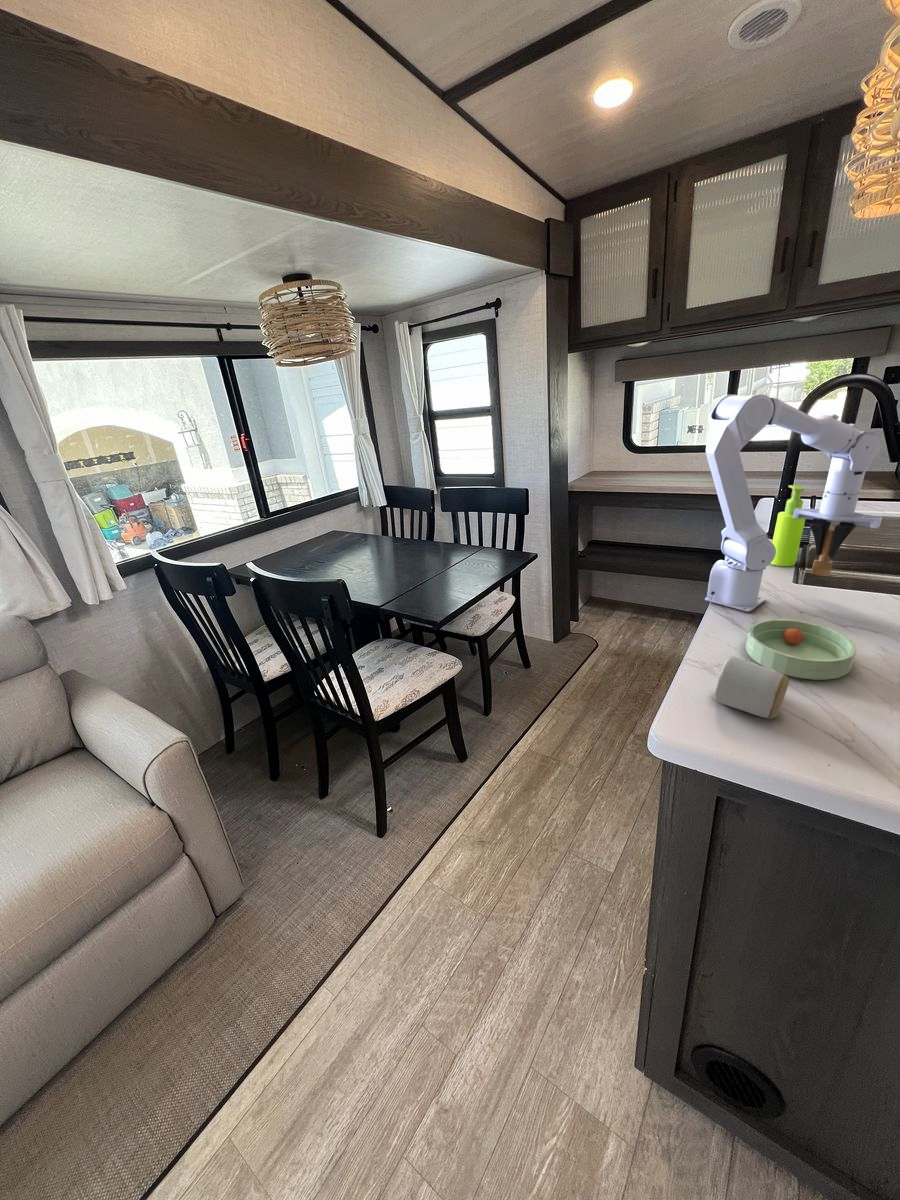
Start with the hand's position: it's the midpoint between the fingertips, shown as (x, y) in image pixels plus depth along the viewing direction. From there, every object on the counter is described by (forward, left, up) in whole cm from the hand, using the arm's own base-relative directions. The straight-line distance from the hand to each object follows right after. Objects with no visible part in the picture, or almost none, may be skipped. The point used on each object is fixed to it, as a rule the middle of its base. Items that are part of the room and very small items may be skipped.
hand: (825, 554), depth 101 cm
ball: (+5, -28, -8) cm, 29 cm away
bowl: (+7, -32, -10) cm, 34 cm away
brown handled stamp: (0, -1, -4) cm, 4 cm away
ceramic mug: (+7, -51, -10) cm, 52 cm away
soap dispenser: (-13, +17, -10) cm, 24 cm away
